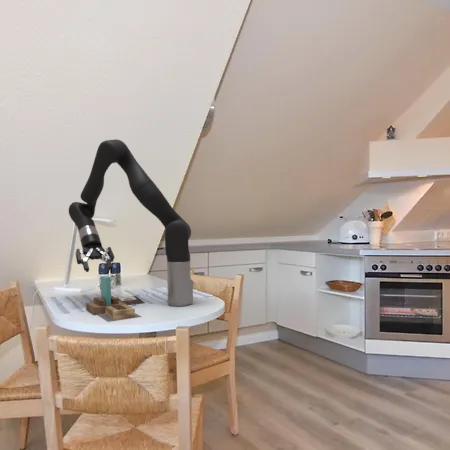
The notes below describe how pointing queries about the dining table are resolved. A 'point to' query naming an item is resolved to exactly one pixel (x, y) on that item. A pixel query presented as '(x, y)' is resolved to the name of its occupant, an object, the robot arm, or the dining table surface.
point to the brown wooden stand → (102, 305)
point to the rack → (120, 312)
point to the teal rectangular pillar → (106, 289)
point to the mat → (115, 320)
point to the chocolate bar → (131, 300)
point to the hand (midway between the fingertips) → (99, 269)
